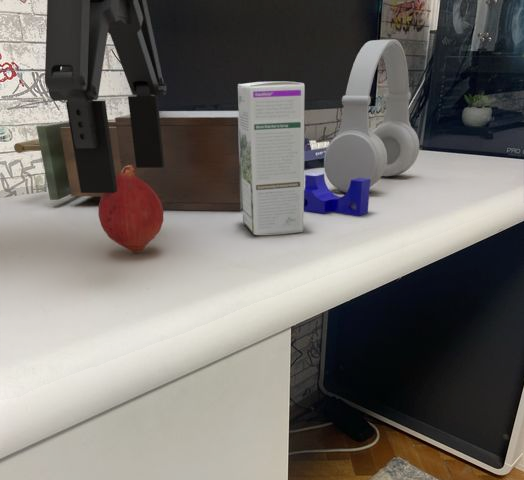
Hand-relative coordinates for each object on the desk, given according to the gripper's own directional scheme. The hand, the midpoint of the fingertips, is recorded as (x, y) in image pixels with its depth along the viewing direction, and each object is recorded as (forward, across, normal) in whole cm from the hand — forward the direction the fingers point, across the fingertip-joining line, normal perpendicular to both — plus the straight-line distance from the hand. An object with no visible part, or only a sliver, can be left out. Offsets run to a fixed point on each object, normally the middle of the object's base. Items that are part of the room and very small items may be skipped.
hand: (128, 178), depth 48 cm
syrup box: (+7, +10, -12) cm, 17 cm away
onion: (+7, 0, 0) cm, 7 cm away
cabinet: (+7, +25, 0) cm, 26 cm away
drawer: (+6, +25, +13) cm, 29 cm away
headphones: (+7, +39, -25) cm, 47 cm away
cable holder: (+7, +19, -19) cm, 28 cm away
